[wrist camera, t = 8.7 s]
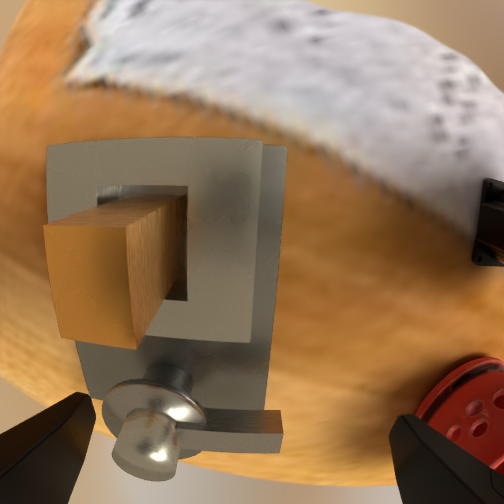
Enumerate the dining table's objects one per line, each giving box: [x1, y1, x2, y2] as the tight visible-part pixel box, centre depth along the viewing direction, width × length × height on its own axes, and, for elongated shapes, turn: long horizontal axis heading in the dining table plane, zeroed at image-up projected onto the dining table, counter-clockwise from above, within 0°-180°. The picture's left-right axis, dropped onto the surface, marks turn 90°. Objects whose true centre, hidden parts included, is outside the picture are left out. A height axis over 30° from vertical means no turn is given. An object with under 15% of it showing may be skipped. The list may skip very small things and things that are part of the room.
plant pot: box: [415, 357, 504, 475], centre depth 17 cm, size 13×13×12 cm
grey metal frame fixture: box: [46, 137, 287, 481], centre depth 15 cm, size 15×19×8 cm
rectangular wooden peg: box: [43, 194, 185, 350], centre depth 13 cm, size 3×4×9 cm
